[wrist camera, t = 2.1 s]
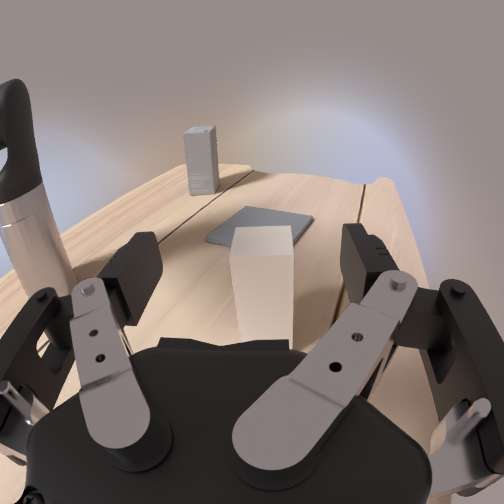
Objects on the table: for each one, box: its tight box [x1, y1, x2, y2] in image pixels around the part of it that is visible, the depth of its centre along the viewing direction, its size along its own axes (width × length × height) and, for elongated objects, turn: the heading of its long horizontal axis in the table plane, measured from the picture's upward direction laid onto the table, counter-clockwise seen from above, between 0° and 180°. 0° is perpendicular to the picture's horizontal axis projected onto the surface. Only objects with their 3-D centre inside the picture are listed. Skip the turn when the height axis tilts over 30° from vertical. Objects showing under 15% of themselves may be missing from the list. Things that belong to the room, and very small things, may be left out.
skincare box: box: [184, 126, 219, 195], centre depth 70 cm, size 8×7×16 cm
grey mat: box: [205, 206, 313, 247], centre depth 53 cm, size 14×14×1 cm
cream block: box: [229, 225, 294, 349], centre depth 28 cm, size 5×5×12 cm
